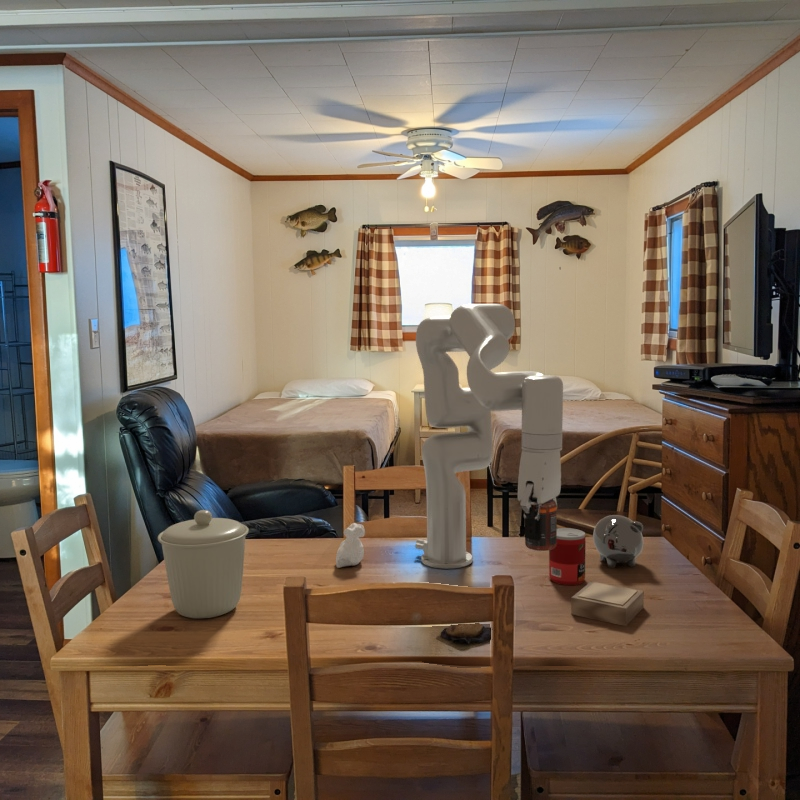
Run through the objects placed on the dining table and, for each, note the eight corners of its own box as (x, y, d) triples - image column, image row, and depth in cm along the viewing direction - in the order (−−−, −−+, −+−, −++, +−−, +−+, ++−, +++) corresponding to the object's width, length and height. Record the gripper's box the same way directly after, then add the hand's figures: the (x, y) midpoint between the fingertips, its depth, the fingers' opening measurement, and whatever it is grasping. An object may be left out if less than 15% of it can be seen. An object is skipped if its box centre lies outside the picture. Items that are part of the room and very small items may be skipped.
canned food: (585, 586, 164) (586, 537, 163) (548, 584, 166) (549, 536, 165) (584, 575, 172) (584, 528, 171) (549, 573, 173) (549, 527, 172)
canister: (219, 632, 144) (214, 525, 141) (142, 620, 150) (137, 518, 148) (267, 599, 160) (264, 503, 158) (196, 590, 167) (192, 497, 164)
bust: (344, 580, 177) (371, 545, 175) (319, 560, 178) (346, 525, 176) (358, 564, 189) (383, 531, 186) (335, 545, 190) (360, 512, 187)
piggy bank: (607, 575, 171) (608, 526, 170) (584, 555, 186) (584, 510, 185) (654, 572, 172) (655, 524, 171) (627, 553, 187) (628, 508, 186)
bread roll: (462, 655, 133) (462, 635, 132) (432, 640, 140) (431, 621, 139) (504, 639, 139) (504, 620, 139) (473, 624, 146) (473, 606, 145)
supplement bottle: (556, 542, 145) (556, 485, 143) (557, 552, 139) (557, 493, 137) (524, 541, 146) (525, 484, 144) (524, 551, 140) (525, 492, 138)
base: (571, 614, 149) (571, 596, 148) (591, 597, 158) (591, 580, 157) (626, 626, 143) (626, 607, 142) (643, 607, 151) (643, 590, 151)
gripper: (542, 433, 149) (541, 520, 151) (502, 446, 135) (502, 543, 137) (578, 436, 145) (576, 526, 147) (541, 450, 131) (539, 550, 133)
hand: (540, 533), depth 142 cm, fingers closed on supplement bottle, 6 cm apart
